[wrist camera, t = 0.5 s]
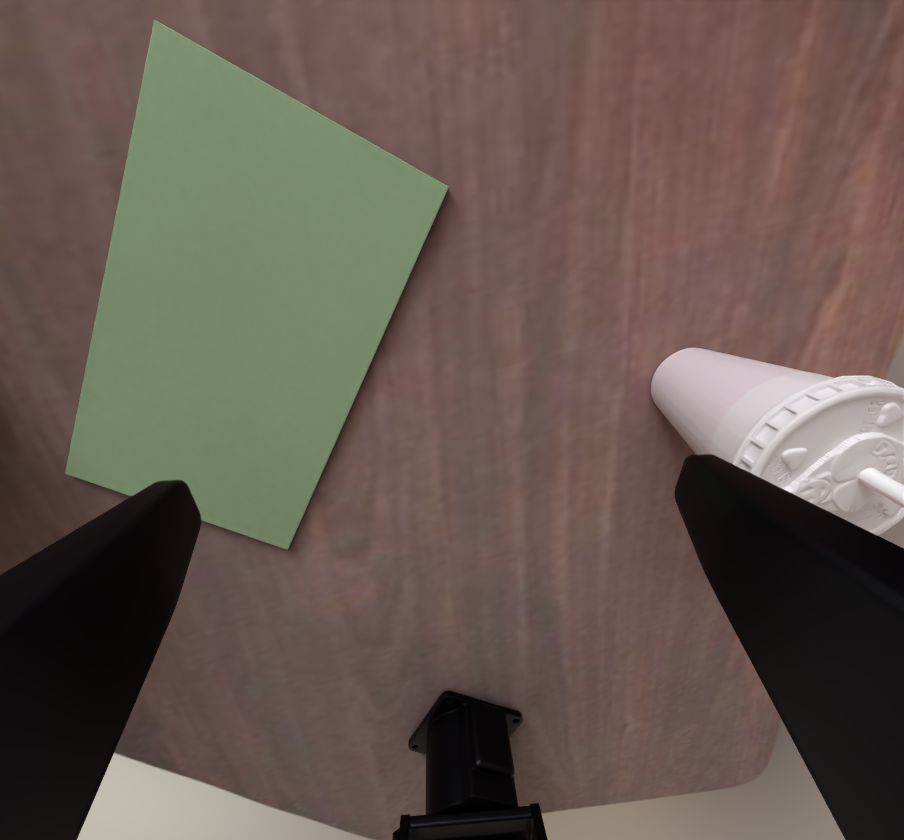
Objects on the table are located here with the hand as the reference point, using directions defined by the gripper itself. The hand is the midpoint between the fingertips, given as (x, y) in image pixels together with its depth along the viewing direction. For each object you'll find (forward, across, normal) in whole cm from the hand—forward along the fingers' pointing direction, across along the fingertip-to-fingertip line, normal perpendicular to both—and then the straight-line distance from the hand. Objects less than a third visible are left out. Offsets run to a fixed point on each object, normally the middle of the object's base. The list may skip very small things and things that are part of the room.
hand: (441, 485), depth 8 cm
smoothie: (+14, -13, +6) cm, 20 cm away
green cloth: (+14, +9, +3) cm, 17 cm away
